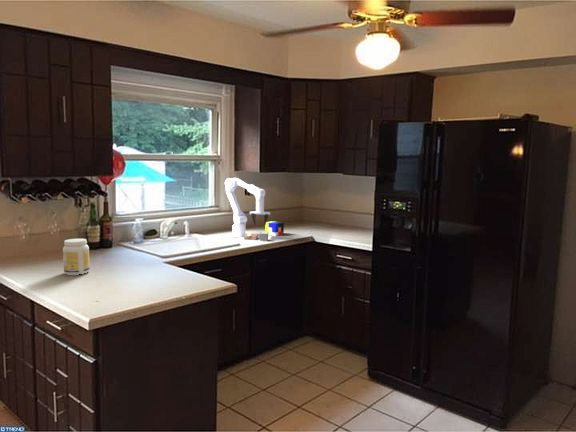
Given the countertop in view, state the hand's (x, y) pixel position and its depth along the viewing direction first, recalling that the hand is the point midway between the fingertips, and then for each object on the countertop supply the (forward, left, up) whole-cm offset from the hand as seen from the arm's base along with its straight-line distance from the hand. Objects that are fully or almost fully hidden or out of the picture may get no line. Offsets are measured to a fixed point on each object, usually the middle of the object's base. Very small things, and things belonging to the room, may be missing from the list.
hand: (259, 224), depth 341 cm
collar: (-6, -5, -10) cm, 13 cm away
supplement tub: (-71, -116, -11) cm, 136 cm away
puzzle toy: (+8, +16, -11) cm, 21 cm away
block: (+5, -10, -10) cm, 15 cm away
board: (+5, -4, -10) cm, 12 cm away
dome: (-5, -5, -10) cm, 12 cm away
